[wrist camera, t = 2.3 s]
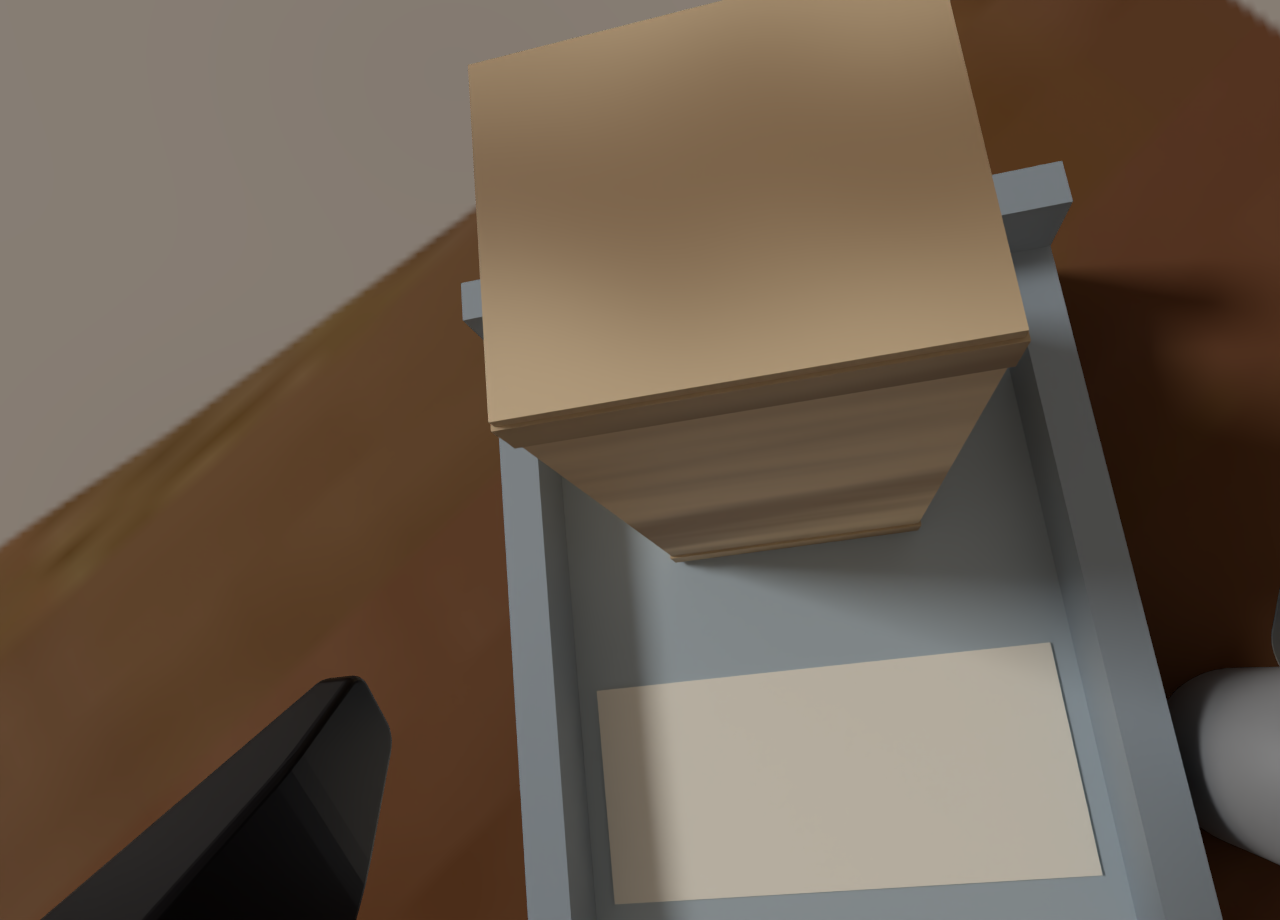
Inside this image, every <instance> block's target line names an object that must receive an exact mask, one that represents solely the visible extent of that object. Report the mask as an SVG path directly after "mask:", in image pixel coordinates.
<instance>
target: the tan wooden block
mask: <svg viewBox="0 0 1280 920" xmlns="http://www.w3.org/2000/svg"><path fill="white" fill-rule="evenodd" d="M468 72H469V90H470V106H471V107H470V108H471V124H472V141H473V160H474V178H475V195H476V213H477V230H478V248H479V265H480V283H481V300H482V318H483V335H484V353H485V370H486V388H487V405H488V422H489V423H490V424H491V432H492V433H494V434H495V435H496V436H498V437H499V438H501V439H502V440H504V441H505V442H506V443H508V444H509V445H511V446H512V447H513V448H515V449H516V448H522V447H523V448H524V449H526V450H527V451H528V452H530V453H531V454H532V455H534V456H535V457H537V458H538V459H539V460H541V461H542V462H543V463H545V464H546V465H547V466H549V467H550V468H552V469H553V470H554V471H556V472H557V473H558V474H560V475H561V476H563V477H564V478H565V479H567V480H568V481H569V482H571V483H572V484H573V485H575V486H576V487H578V488H579V489H580V490H582V491H583V492H584V493H586V494H587V495H589V496H590V497H591V498H593V499H594V500H595V501H597V502H598V503H599V504H601V505H602V506H604V507H605V508H606V509H608V510H609V511H610V512H612V513H613V514H615V515H616V516H617V517H619V518H620V519H621V520H623V521H624V522H625V523H627V524H628V525H630V526H631V527H632V528H634V529H635V530H636V531H638V532H639V533H641V534H642V535H643V536H645V537H646V538H647V539H649V540H650V541H651V542H653V543H654V544H656V545H657V546H658V547H660V548H661V549H662V550H664V551H665V552H667V553H668V554H669V555H670V559H671V560H673V561H674V562H676V563H677V562H685V561H692V560H700V559H707V558H715V557H722V556H730V555H737V554H745V553H752V552H760V551H767V550H775V549H782V548H790V547H797V546H805V545H812V544H820V543H827V542H835V541H842V540H850V539H857V538H865V537H872V536H880V535H887V534H895V533H902V532H910V531H917V530H919V528H920V527H921V519H922V517H923V515H924V513H925V512H926V510H927V508H928V506H929V505H930V503H931V501H932V499H933V498H934V496H935V494H936V492H937V491H938V489H939V487H940V485H941V484H942V482H943V480H944V478H945V477H946V475H947V473H948V471H949V470H950V468H951V466H952V464H953V463H954V461H955V459H956V457H957V456H958V454H959V452H960V450H961V449H962V447H963V445H964V443H965V442H966V440H967V438H968V436H969V435H970V433H971V431H972V429H973V428H974V426H975V424H976V422H977V421H978V419H979V417H980V415H981V414H982V412H983V410H984V408H985V407H986V405H987V403H988V401H989V400H990V398H991V396H992V394H993V393H994V391H995V389H996V387H997V386H998V384H999V382H1000V380H1001V379H1002V377H1003V375H1004V373H1005V372H1006V370H1007V368H1010V367H1016V365H1017V364H1018V362H1019V360H1020V359H1021V357H1022V355H1023V354H1024V352H1025V350H1026V348H1027V347H1028V345H1029V343H1030V342H1031V338H1030V334H1029V327H1028V323H1027V319H1026V315H1025V310H1024V306H1023V302H1022V298H1021V294H1020V290H1019V286H1018V281H1017V277H1016V273H1015V269H1014V265H1013V261H1012V257H1011V252H1010V248H1009V244H1008V240H1007V236H1006V232H1005V228H1004V223H1003V219H1002V215H1001V211H1000V207H999V203H998V199H997V194H996V190H995V186H994V182H993V178H992V174H991V170H990V165H989V161H988V157H987V153H986V149H985V145H984V141H983V136H982V132H981V128H980V124H979V120H978V116H977V112H976V108H975V103H974V99H973V95H972V91H971V87H970V83H969V79H968V74H967V70H966V66H965V62H964V58H963V54H962V50H961V45H960V41H959V37H958V33H957V29H956V25H955V21H954V16H953V12H952V8H951V4H950V0H722V1H718V2H715V3H711V4H707V5H703V6H699V7H695V8H691V9H687V10H683V11H679V12H675V13H671V14H667V15H664V16H660V17H656V18H651V19H648V20H644V21H640V22H636V23H632V24H628V25H624V26H620V27H616V28H612V29H608V30H604V31H600V32H596V33H592V34H588V35H585V36H581V37H576V38H572V39H569V40H565V41H561V42H557V43H553V44H549V45H545V46H541V47H537V48H533V49H529V50H525V51H521V52H518V53H514V54H509V55H505V56H502V57H498V58H494V59H490V60H486V61H482V62H478V63H474V64H470V65H468Z"/></svg>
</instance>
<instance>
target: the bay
mask: <svg viewBox="0 0 1280 920" xmlns="http://www.w3.org/2000/svg"><path fill="white" fill-rule="evenodd" d="M992 178H993V182H994V186H995V190H996V194H997V199H998V203H999V207H1000V211H1001V215H1002V219H1003V223H1004V228H1005V232H1006V236H1007V240H1008V244H1009V248H1010V252H1011V257H1012V261H1013V265H1014V269H1015V273H1016V277H1017V281H1018V286H1019V290H1020V294H1021V298H1022V302H1023V306H1024V310H1025V315H1026V319H1027V323H1028V327H1029V334H1030V338H1031V342H1030V343H1029V345H1028V347H1027V348H1026V350H1025V352H1024V354H1023V355H1022V357H1021V359H1020V360H1019V362H1018V364H1017V365H1016V367H1010V368H1007V370H1006V372H1005V373H1004V375H1003V377H1002V379H1001V380H1000V382H999V384H998V386H997V387H996V389H995V391H994V393H993V394H992V396H991V398H990V400H989V401H988V403H987V405H986V407H985V408H984V410H983V412H982V414H981V415H980V417H979V419H978V421H977V422H976V424H975V426H974V428H973V429H972V431H971V433H970V435H969V436H968V438H967V440H966V442H965V443H964V445H963V447H962V449H961V450H960V452H959V454H958V456H957V457H956V459H955V461H954V463H953V464H952V466H951V468H950V470H949V471H948V473H947V475H946V477H945V478H944V480H943V482H942V484H941V485H940V487H939V489H938V491H937V492H936V494H935V496H934V498H933V499H932V501H931V503H930V505H929V506H928V508H927V510H926V512H925V513H924V515H923V517H922V519H921V527H920V528H919V530H917V531H910V532H902V533H895V534H887V535H880V536H872V537H865V538H857V539H850V540H842V541H835V542H827V543H820V544H812V545H805V546H797V547H790V548H782V549H775V550H767V551H760V552H752V553H745V554H737V555H730V556H722V557H715V558H707V559H700V560H692V561H685V562H677V563H676V562H674V561H673V560H671V559H670V555H669V554H668V553H667V552H665V551H664V550H662V549H661V548H660V547H658V546H657V545H656V544H654V543H653V542H651V541H650V540H649V539H647V538H646V537H645V536H643V535H642V534H641V533H639V532H638V531H636V530H635V529H634V528H632V527H631V526H630V525H628V524H627V523H625V522H624V521H623V520H621V519H620V518H619V517H617V516H616V515H615V514H613V513H612V512H610V511H609V510H608V509H606V508H605V507H604V506H602V505H601V504H599V503H598V502H597V501H595V500H594V499H593V498H591V497H590V496H589V495H587V494H586V493H584V492H583V491H582V490H580V489H579V488H578V487H576V486H575V485H573V484H572V483H571V482H569V481H568V480H567V479H565V478H564V477H563V476H561V475H560V474H558V473H557V472H556V471H554V470H553V469H552V468H550V467H549V466H547V465H546V464H545V463H543V462H542V461H541V460H539V459H538V458H537V457H535V456H534V455H532V454H531V453H530V452H528V451H527V450H526V449H524V448H523V447H522V448H516V449H515V448H513V447H512V446H511V445H509V444H508V443H506V442H505V441H504V440H502V439H501V438H499V444H500V460H501V477H502V493H503V510H504V527H505V543H506V560H507V576H508V593H509V610H510V626H511V643H512V659H513V676H514V692H515V709H516V726H517V742H518V759H519V775H520V792H521V809H522V825H523V842H524V858H525V875H526V892H527V908H528V920H1223V919H1222V915H1221V911H1220V907H1219V903H1218V899H1217V896H1216V892H1215V888H1214V884H1213V880H1212V876H1211V872H1210V868H1209V864H1208V860H1207V856H1206V853H1205V849H1204V845H1203V841H1202V837H1201V833H1200V829H1199V827H1201V828H1202V829H1204V830H1205V831H1207V832H1208V833H1210V834H1211V835H1213V836H1215V837H1217V838H1219V839H1221V840H1223V841H1225V842H1227V843H1229V844H1232V845H1234V846H1236V847H1239V848H1241V849H1243V850H1246V851H1248V852H1250V853H1253V854H1255V855H1257V856H1260V857H1262V858H1265V859H1267V860H1269V861H1272V862H1274V863H1276V864H1279V865H1280V667H1240V668H1223V669H1217V670H1213V671H1209V672H1206V673H1203V674H1201V675H1199V676H1196V677H1194V678H1192V679H1191V680H1189V681H1188V682H1186V683H1184V684H1183V685H1182V686H1181V687H1180V688H1178V689H1177V690H1176V691H1175V692H1174V693H1173V695H1172V696H1171V697H1170V698H1169V699H1168V701H1167V700H1166V696H1165V692H1164V688H1163V685H1162V681H1161V677H1160V673H1159V669H1158V665H1157V661H1156V657H1155V653H1154V649H1153V645H1152V642H1151V638H1150V634H1149V630H1148V626H1147V622H1146V618H1145V614H1144V610H1143V606H1142V602H1141V599H1140V595H1139V591H1138V587H1137V583H1136V579H1135V575H1134V571H1133V567H1132V563H1131V559H1130V556H1129V552H1128V548H1127V544H1126V540H1125V536H1124V532H1123V528H1122V524H1121V520H1120V516H1119V513H1118V509H1117V505H1116V501H1115V497H1114V493H1113V489H1112V485H1111V481H1110V477H1109V474H1108V470H1107V466H1106V462H1105V458H1104V454H1103V450H1102V446H1101V442H1100V438H1099V434H1098V431H1097V427H1096V423H1095V419H1094V415H1093V411H1092V407H1091V403H1090V399H1089V395H1088V391H1087V388H1086V384H1085V380H1084V376H1083V372H1082V368H1081V364H1080V360H1079V356H1078V352H1077V348H1076V345H1075V341H1074V337H1073V333H1072V329H1071V325H1070V321H1069V317H1068V313H1067V309H1066V305H1065V302H1064V298H1063V294H1062V290H1061V286H1060V282H1059V278H1058V274H1057V270H1056V266H1055V262H1054V259H1053V255H1052V251H1051V247H1050V245H1051V243H1052V241H1053V239H1054V237H1055V235H1056V233H1057V231H1058V229H1059V228H1060V226H1061V224H1062V222H1063V220H1064V218H1065V216H1066V214H1067V212H1068V210H1069V208H1070V206H1071V204H1072V202H1073V200H1072V196H1071V193H1070V189H1069V185H1068V182H1067V178H1066V174H1065V170H1064V167H1063V163H1062V161H1059V162H1054V163H1049V164H1044V165H1039V166H1034V167H1030V168H1025V169H1020V170H1015V171H1010V172H1005V173H1000V174H995V175H992ZM461 292H462V311H463V321H464V322H465V323H466V324H467V325H468V326H469V327H470V328H471V329H472V330H474V331H475V332H476V333H477V334H478V335H479V336H480V337H481V338H482V339H483V340H484V335H483V318H482V300H481V283H480V280H475V281H470V282H465V283H461Z"/></svg>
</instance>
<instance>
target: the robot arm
mask: <svg viewBox="0 0 1280 920" xmlns="http://www.w3.org/2000/svg"><path fill="white" fill-rule="evenodd" d="M1271 639H1272V647H1273V651H1274V654H1275V657H1276V660H1277V662H1278V664H1279V666H1280V589H1279V595H1278V600H1277V606H1276V611H1275V616H1274V622H1273V627H1272V635H1271ZM391 747H392V738H391V732H390V728H389V725H388V723H387V721H386V719H385V718H384V716H383V714H382V712H381V710H380V708H379V706H378V704H377V702H376V701H375V699H374V697H373V695H372V693H371V691H370V689H369V687H368V686H367V684H366V682H365V681H364V680H363V679H361V678H360V677H358V676H345V677H336V678H328V679H325V680H322V681H320V682H319V683H317V684H316V685H315V686H314V687H312V688H311V689H310V690H309V691H308V692H307V693H305V694H304V695H303V696H302V697H301V698H300V699H298V700H297V701H296V702H295V703H294V704H293V705H291V706H290V707H289V708H288V709H287V710H285V711H284V712H283V713H282V714H281V715H280V716H278V717H277V718H276V719H275V720H274V721H273V722H271V723H270V724H269V725H268V726H267V727H266V728H264V729H263V730H262V731H261V732H260V733H259V734H257V735H256V736H255V737H254V738H253V739H252V740H250V741H249V742H248V743H247V744H246V745H244V746H243V747H242V748H241V749H240V750H239V751H237V752H236V753H235V754H234V755H233V756H232V757H230V758H229V759H228V760H227V761H226V762H225V763H223V764H222V765H221V766H220V767H219V768H218V769H216V770H215V771H214V772H213V773H212V774H210V775H209V776H208V777H207V778H206V779H205V780H203V781H202V782H201V783H200V784H199V785H198V786H196V787H195V788H194V789H193V790H192V791H191V792H189V793H188V794H187V795H186V796H185V797H184V798H182V799H181V800H180V801H179V802H178V803H177V804H175V805H174V806H173V807H172V808H171V809H169V810H168V811H167V812H166V813H165V814H164V815H162V816H161V817H160V818H159V819H158V820H157V821H155V822H154V823H153V824H152V825H151V826H150V827H148V828H147V829H146V830H145V831H144V832H143V833H141V834H140V835H139V836H138V837H137V838H136V839H134V840H133V841H132V842H131V843H130V844H128V845H127V846H126V847H125V848H124V849H123V850H121V851H120V852H119V853H118V854H117V855H116V856H114V857H113V858H112V859H111V860H110V861H109V862H107V863H106V864H105V865H104V866H103V867H102V868H100V869H99V870H98V871H97V872H96V873H95V874H93V875H92V876H91V877H90V878H89V879H87V880H86V881H85V882H84V883H83V884H82V885H80V886H79V887H78V888H77V889H76V890H75V891H73V892H72V893H71V894H70V895H69V896H68V897H66V898H65V899H64V900H63V901H62V902H61V903H59V904H58V905H57V906H56V907H55V908H54V909H52V910H51V911H50V912H49V913H48V914H46V915H45V916H44V917H43V918H42V919H41V920H356V918H357V915H358V911H359V908H360V904H361V900H362V896H363V893H364V889H365V885H366V880H367V876H368V871H369V867H370V862H371V857H372V851H373V846H374V840H375V835H376V830H377V824H378V819H379V813H380V808H381V803H382V797H383V792H384V787H385V781H386V776H387V770H388V765H389V760H390V754H391Z"/></svg>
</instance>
